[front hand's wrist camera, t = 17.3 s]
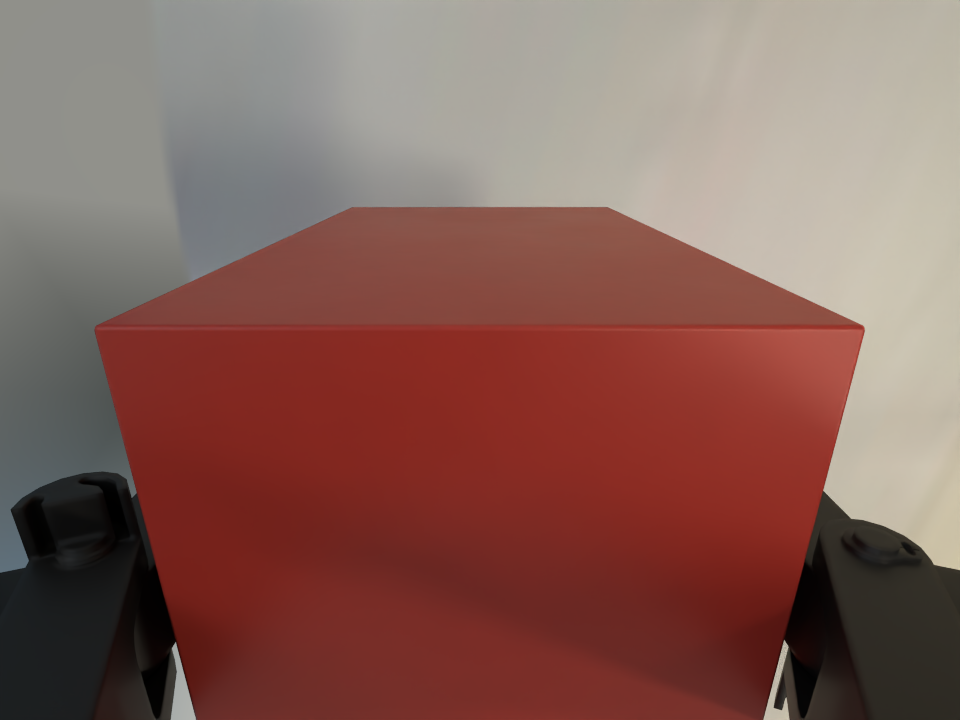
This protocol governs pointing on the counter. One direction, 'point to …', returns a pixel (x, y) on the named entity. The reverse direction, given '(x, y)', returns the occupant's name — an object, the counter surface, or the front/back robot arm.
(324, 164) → the counter surface
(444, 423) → the block
